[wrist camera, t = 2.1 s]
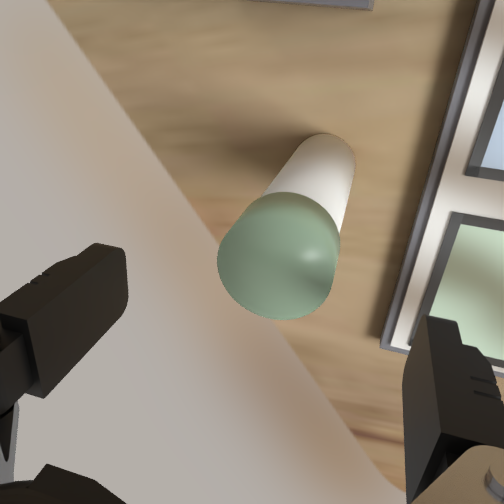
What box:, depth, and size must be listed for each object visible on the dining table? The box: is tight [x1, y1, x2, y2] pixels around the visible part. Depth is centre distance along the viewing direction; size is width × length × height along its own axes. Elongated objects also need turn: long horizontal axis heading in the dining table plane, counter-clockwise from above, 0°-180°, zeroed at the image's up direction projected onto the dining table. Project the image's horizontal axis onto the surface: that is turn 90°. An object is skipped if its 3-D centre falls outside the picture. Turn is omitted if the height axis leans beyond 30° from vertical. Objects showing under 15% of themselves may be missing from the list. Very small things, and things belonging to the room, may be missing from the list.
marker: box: [217, 134, 356, 320], centre depth 17 cm, size 4×4×11 cm
